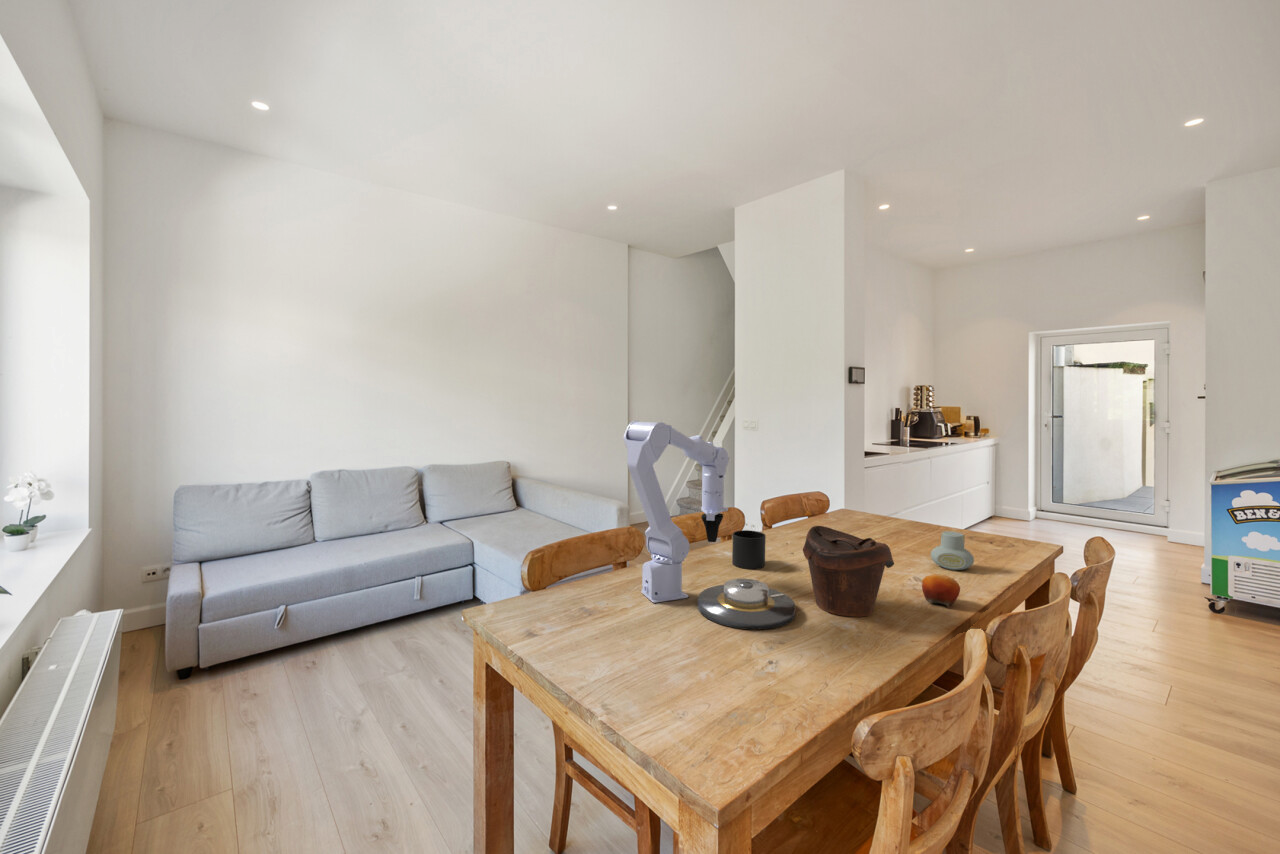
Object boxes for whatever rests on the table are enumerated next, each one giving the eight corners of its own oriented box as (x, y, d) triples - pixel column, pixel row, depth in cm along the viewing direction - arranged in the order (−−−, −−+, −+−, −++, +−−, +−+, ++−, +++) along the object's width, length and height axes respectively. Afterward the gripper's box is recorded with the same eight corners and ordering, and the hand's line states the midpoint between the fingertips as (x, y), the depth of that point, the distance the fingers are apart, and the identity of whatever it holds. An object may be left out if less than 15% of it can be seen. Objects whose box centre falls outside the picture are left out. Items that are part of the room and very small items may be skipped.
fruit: (921, 601, 127) (922, 568, 130) (920, 608, 133) (922, 576, 136) (961, 608, 123) (961, 573, 126) (958, 615, 129) (959, 581, 132)
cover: (739, 612, 118) (739, 594, 117) (715, 596, 127) (716, 579, 127) (777, 605, 121) (777, 588, 121) (751, 590, 131) (752, 574, 130)
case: (902, 626, 116) (903, 543, 115) (805, 618, 120) (806, 539, 119) (882, 597, 134) (883, 525, 133) (798, 591, 138) (799, 522, 137)
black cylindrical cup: (776, 563, 160) (776, 533, 160) (752, 571, 152) (753, 540, 151) (749, 556, 167) (750, 527, 167) (725, 564, 159) (726, 533, 158)
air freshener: (973, 566, 158) (975, 533, 157) (973, 574, 151) (974, 539, 150) (931, 560, 164) (932, 528, 163) (929, 567, 157) (930, 533, 156)
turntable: (730, 636, 110) (730, 626, 110) (681, 598, 131) (681, 590, 131) (816, 620, 119) (816, 610, 119) (758, 587, 139) (758, 579, 139)
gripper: (726, 496, 136) (725, 549, 137) (729, 487, 150) (728, 535, 151) (698, 495, 137) (698, 548, 138) (703, 486, 152) (703, 533, 152)
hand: (712, 541), depth 145 cm, fingers closed
